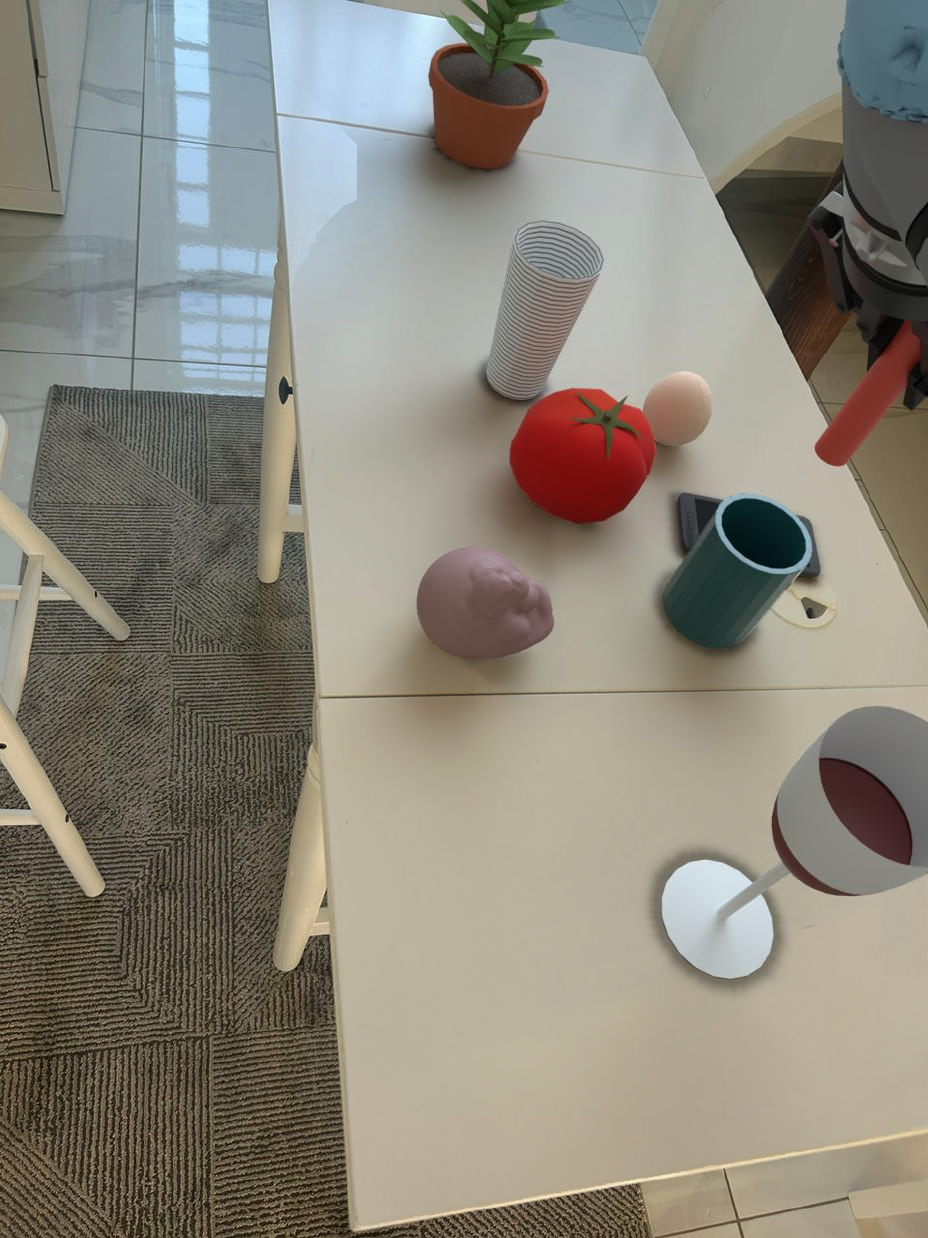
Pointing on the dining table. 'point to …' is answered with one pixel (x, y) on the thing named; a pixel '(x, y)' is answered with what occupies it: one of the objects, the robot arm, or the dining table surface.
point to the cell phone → (701, 509)
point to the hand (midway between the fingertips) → (904, 376)
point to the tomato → (582, 454)
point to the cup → (540, 304)
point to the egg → (678, 408)
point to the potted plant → (489, 84)
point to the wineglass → (815, 839)
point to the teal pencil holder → (736, 570)
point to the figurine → (482, 605)
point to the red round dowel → (870, 398)
